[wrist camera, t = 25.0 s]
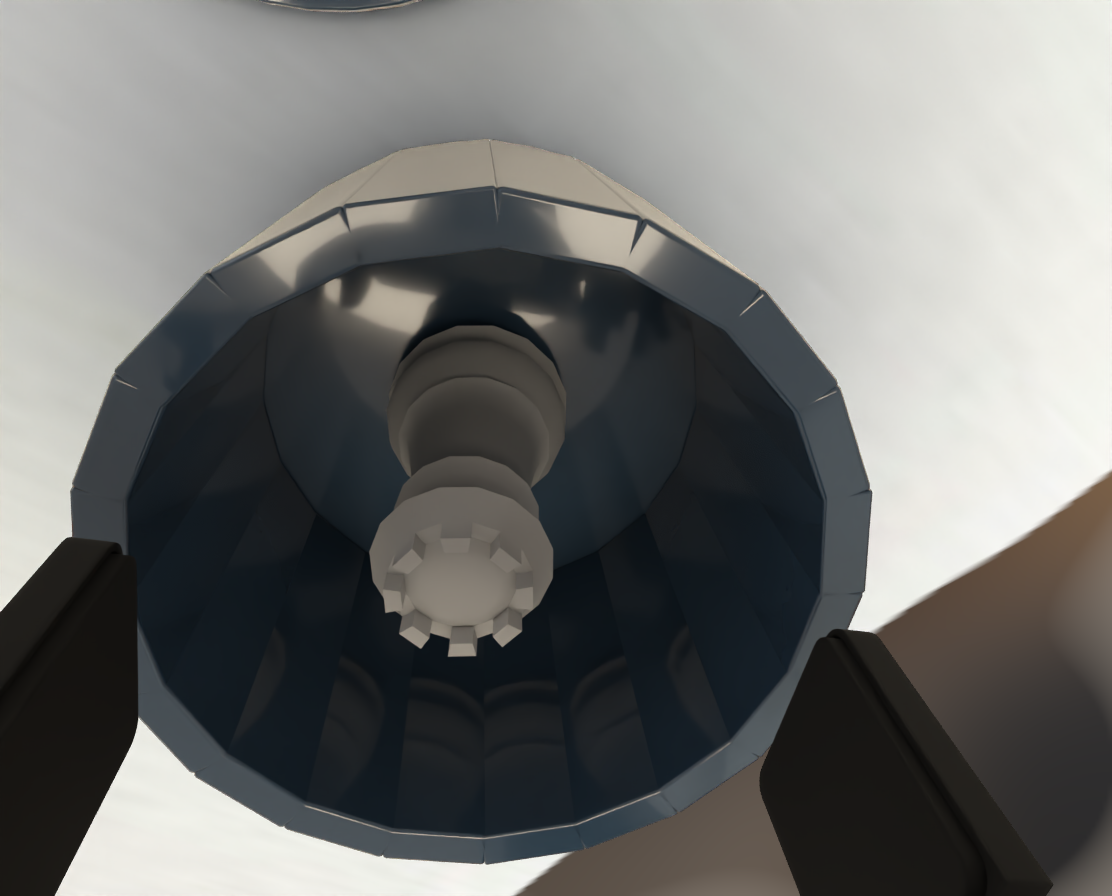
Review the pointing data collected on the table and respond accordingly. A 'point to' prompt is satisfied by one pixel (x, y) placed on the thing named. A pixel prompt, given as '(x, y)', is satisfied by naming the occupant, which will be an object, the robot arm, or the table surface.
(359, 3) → the lid
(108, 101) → the table surface
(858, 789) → the robot arm
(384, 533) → the rook chess piece
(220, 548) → the canister
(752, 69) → the table surface
